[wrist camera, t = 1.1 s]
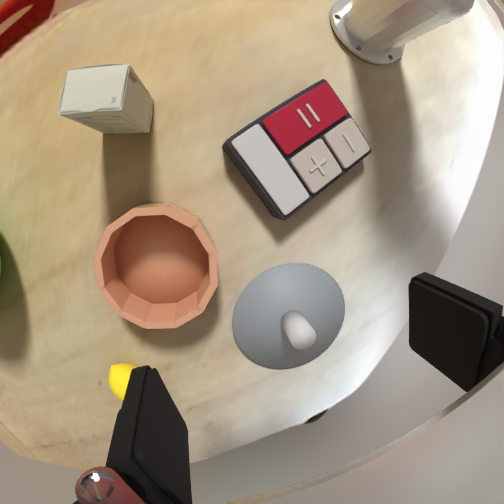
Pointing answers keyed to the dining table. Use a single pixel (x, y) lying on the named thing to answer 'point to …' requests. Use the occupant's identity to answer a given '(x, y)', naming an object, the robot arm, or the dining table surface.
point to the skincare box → (107, 99)
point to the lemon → (120, 378)
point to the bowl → (157, 266)
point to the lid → (288, 315)
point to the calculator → (297, 149)
